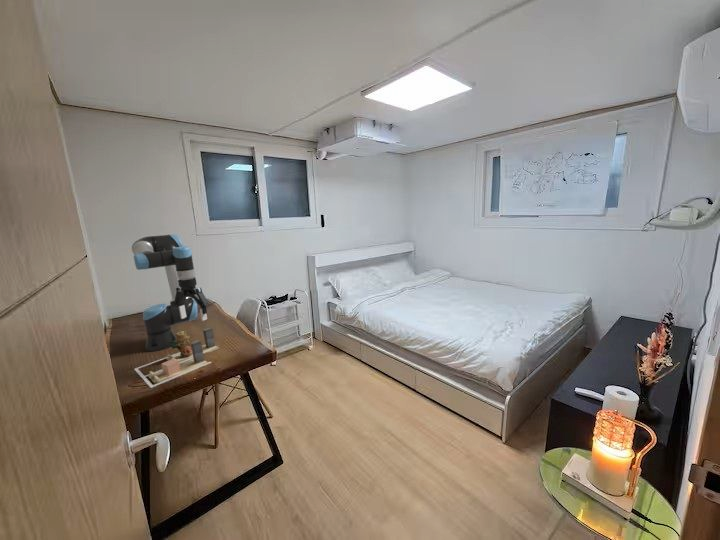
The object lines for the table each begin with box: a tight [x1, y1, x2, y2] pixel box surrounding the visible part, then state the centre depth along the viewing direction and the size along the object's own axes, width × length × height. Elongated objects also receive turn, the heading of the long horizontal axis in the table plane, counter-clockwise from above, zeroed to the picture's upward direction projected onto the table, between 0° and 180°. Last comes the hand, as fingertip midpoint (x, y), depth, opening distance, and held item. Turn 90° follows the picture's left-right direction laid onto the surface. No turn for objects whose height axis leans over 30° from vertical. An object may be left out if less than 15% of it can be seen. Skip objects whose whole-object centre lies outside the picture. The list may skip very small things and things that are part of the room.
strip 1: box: [166, 327, 220, 363], centre depth 152 cm, size 11×22×11 cm, turn 140°
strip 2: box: [147, 339, 209, 385], centre depth 136 cm, size 11×22×11 cm, turn 140°
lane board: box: [133, 351, 212, 389], centre depth 140 cm, size 27×25×1 cm
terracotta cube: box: [161, 359, 181, 376], centre depth 134 cm, size 5×5×5 cm
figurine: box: [169, 330, 192, 359], centre depth 148 cm, size 9×8×15 cm
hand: (194, 318), depth 146 cm, fingers open, 13 cm apart
